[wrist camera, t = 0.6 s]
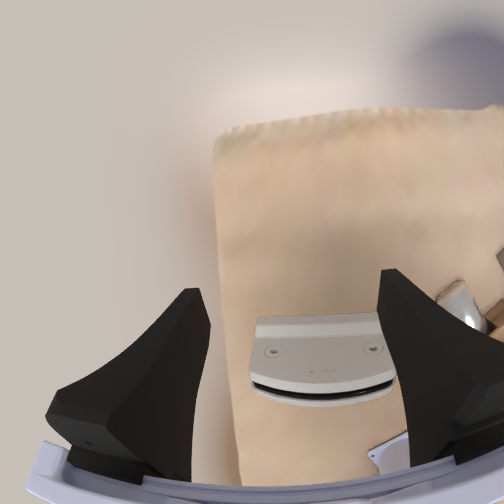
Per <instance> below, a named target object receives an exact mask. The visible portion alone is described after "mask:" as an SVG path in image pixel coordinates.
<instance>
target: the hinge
mask: <svg viewBox="0 0 504 504" xmlns="http://www.w3.org/2000/svg"><path fill="white" fill-rule="evenodd" d="M396 373H397V372H396V369H395V366H394V363H393V361H392V358H391V355H390V352H389V350H388V347H387V344H386V341H385V338H384V336H383V333H382V330H381V326H380V322H379V317H378V313H377V312H367V313H351V314H332V315H309V316H274V317H259V319H258V321H257V324H256V332H255V340H254V345H253V350H252V355H251V359H250V364H249V377H250V379H251V380H252V383H251V384H252V387H253V389H254V390H255V392H256V393H257V394H258V395H260V396H262V397H265V398H268V399H271V400H274V401H278V402H281V403H286V404H291V405H298V406H307V407H336V406H345V405H352V404H357V403H362V402H366V401H370V400H373V399H376V398H379V397H382V396H385V395H387V394H389V393H390V392H391V390H392V388H393V386H394V384H395V380H396Z"/></svg>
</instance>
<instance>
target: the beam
mask: <svg viewBox="0 0 504 504" xmlns="http://www.w3.org/2000/svg"><path fill="white" fill-rule="evenodd" d="M484 318H485V320H486V322H487V324H488V326H489V328H490V330H491V334H489V335H488V336H490V337H492V338H494V339H497V340H499V341H501V342H504V300H501V301H499V302H498V303H497V304H496V305H495V306H494V307H493V308H492V309H491V310H490V311H488V312H487V313H486V314H485V315H484Z"/></svg>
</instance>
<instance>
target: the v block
mask: <svg viewBox="0 0 504 504" xmlns="http://www.w3.org/2000/svg"><path fill="white" fill-rule="evenodd" d="M496 257H497V259H498V260H499V262H500V264H501V266H502V268H503V270H504V248H503V249H502V250H501V251H500V252H499V253H498V254H497V255H496Z"/></svg>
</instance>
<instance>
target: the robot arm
mask: <svg viewBox="0 0 504 504" xmlns="http://www.w3.org/2000/svg"><path fill="white" fill-rule="evenodd" d="M377 313H378V317H379V322H380V326H381V330H382V333H383V336H384V338H385V341H386V344H387V347H388V350H389V352H390V355H391V358H392V361H393V363H394V366H395V369H396V372H397V375H398V379H399V382H400V386H401V391H402V397H403V402H404V408H405V414H406V421H407V430H408V431H407V432H405V433H403V434H401V435H399V436H397V437H396V438H394V439H392V440H390V441H388V442H386V443H384V444H382V445H380V446H378V447H376V448H374V449H372V450H370V451H368V456H369V457H370V458H371V460H372V461H373V462H374V464H375V465H376V466H377V467H378V469H379V475H377V476H372V477H366V478H360V479H354V480H347V481H340V482H332V483H323V484H312V485H298V486H272V487H251V486H224V485H211V484H200V483H192V482H191V458H192V457H191V456H192V437H193V423H194V414H195V405H196V398H197V392H198V388H199V384H200V380H201V376H202V372H203V368H204V364H205V360H206V355H207V351H208V347H209V339H210V328H211V324H210V321H209V317H208V314H207V311H206V308H205V305H204V302H203V299H202V296H201V292H200V289H199V288H187V289H184V290H183V291H182V292H181V293H180V294H179V295H178V297H177V298H176V299H175V300H174V301H173V302H172V303H171V305H170V306H169V307H168V308H167V309H166V310H165V311H164V312H163V313H162V315H161V316H160V317H159V318H158V319H157V320H156V321H155V322H154V323H153V324H152V325H151V326H150V327H149V328H148V329H147V330H146V331H145V332H144V333H143V334H142V335H141V336H140V337H139V338H138V339H137V340H136V341H135V342H134V343H133V344H131V345H130V346H129V347H128V348H127V349H126V350H124V351H123V352H122V353H121V354H119V355H118V356H117V357H115V358H114V359H112V360H111V361H109V362H108V363H107V364H105V365H104V366H102V367H101V368H100V369H98V370H96V371H94V372H93V373H91V374H89V375H88V376H86V377H84V378H82V379H80V380H79V381H76V382H74V383H72V384H70V385H68V386H66V387H64V388H62V389H59V390H58V391H57V392H56V394H55V396H54V398H53V400H52V402H51V405H50V407H49V409H48V411H47V413H46V415H45V417H46V420H47V422H48V423H49V425H50V426H51V427H52V428H53V429H54V430H55V431H56V432H57V433H59V434H60V435H61V436H62V437H63V438H65V439H66V440H67V441H68V442H69V443H70V444H71V445H72V447H71V449H70V451H69V450H67V449H65V448H63V447H61V446H58V445H56V444H53V443H50V442H47V441H43V442H42V445H41V447H40V449H39V452H38V454H37V457H36V459H35V462H34V464H33V467H32V470H31V472H30V475H29V478H28V481H27V483H26V486H25V489H26V490H27V491H29V492H31V493H33V494H34V495H36V496H38V497H40V498H42V499H43V500H46V501H47V502H49V503H51V504H495V503H497V502H499V501H501V500H503V499H504V342H501V341H499V340H497V339H494V338H492V337H490V336H488V335H486V334H484V333H482V332H480V331H478V330H477V329H475V328H473V327H471V326H469V325H468V324H466V323H465V322H463V321H462V320H460V319H458V318H457V317H455V316H454V315H452V314H451V313H449V312H448V311H447V310H445V309H444V308H443V307H441V306H440V305H439V304H437V303H436V302H435V301H434V300H432V299H431V298H430V297H429V296H427V295H426V294H425V293H424V292H423V291H421V290H420V289H419V288H418V287H417V286H416V285H414V284H413V283H412V282H411V281H410V280H409V279H408V278H406V277H405V276H404V275H403V274H402V273H401V272H399V271H398V270H397V269H396V268H395V269H387V270H381V278H380V287H379V296H378V304H377ZM372 455H374V456H372ZM371 498H375V501H370V500H369V499H371Z"/></svg>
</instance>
